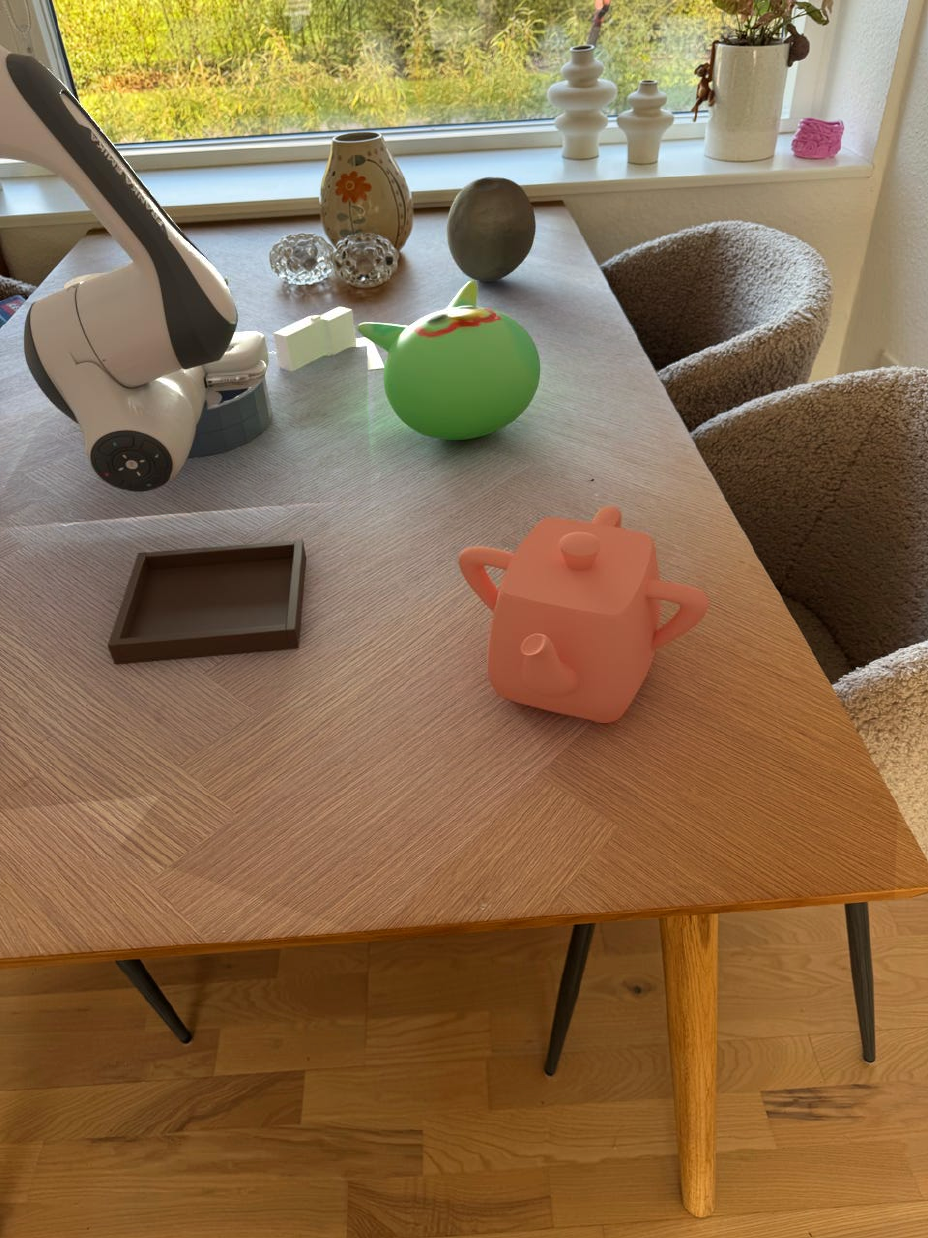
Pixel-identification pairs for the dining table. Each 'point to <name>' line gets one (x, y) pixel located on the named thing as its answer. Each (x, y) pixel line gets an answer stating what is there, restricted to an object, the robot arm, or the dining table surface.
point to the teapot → (577, 615)
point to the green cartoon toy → (458, 369)
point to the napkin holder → (321, 339)
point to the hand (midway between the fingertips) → (182, 335)
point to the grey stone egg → (490, 228)
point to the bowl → (232, 420)
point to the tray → (211, 602)
